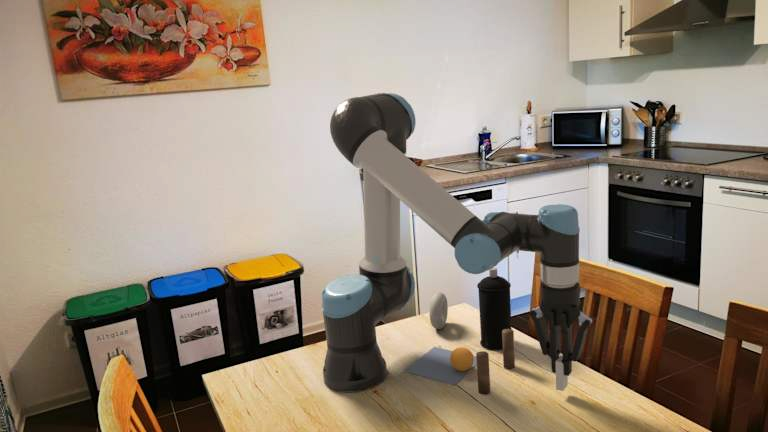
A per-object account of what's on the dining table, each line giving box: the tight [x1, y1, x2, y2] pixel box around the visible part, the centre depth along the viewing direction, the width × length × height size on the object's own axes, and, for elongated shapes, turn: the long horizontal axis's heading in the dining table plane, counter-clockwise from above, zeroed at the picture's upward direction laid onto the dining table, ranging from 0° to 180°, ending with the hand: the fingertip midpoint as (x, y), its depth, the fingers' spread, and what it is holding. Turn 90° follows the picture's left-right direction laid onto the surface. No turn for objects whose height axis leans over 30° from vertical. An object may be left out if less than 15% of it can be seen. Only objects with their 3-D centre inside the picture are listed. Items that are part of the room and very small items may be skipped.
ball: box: [450, 346, 474, 371], centre depth 142 cm, size 6×6×6 cm
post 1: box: [475, 350, 491, 396], centre depth 131 cm, size 3×3×9 cm
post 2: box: [502, 328, 516, 370], centre depth 141 cm, size 3×3×9 cm
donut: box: [429, 291, 449, 330], centre depth 165 cm, size 10×4×10 cm, turn 161°
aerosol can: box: [476, 267, 512, 351], centre depth 152 cm, size 8×8×20 cm
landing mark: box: [402, 346, 477, 386], centre depth 145 cm, size 14×14×1 cm
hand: (561, 387), depth 128 cm, fingers closed
